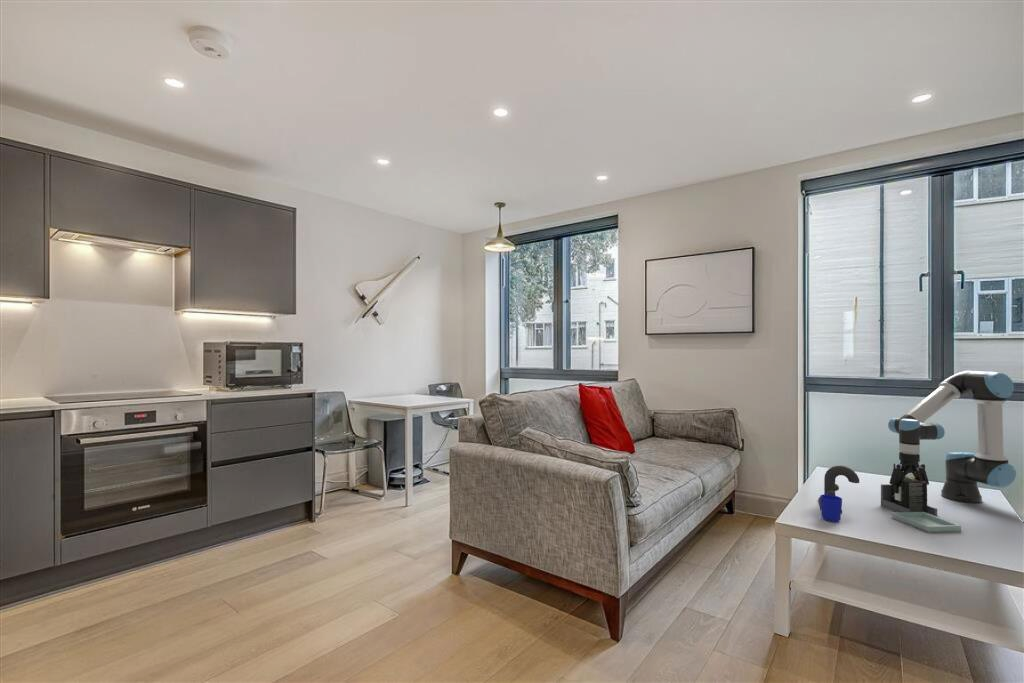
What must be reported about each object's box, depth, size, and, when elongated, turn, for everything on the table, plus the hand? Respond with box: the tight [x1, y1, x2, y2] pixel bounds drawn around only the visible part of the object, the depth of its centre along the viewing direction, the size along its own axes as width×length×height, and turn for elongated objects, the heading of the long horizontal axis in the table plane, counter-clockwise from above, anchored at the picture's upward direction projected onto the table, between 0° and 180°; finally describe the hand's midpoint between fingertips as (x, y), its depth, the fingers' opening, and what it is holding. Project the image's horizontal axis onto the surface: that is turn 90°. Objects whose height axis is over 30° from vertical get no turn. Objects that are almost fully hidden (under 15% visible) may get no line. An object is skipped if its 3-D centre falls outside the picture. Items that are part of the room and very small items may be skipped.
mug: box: [819, 494, 843, 523], centre depth 216 cm, size 8×12×10 cm
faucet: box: [818, 465, 860, 514], centre depth 230 cm, size 18×16×20 cm
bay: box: [880, 483, 938, 516], centre depth 227 cm, size 14×15×10 cm
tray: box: [891, 511, 962, 534], centre depth 209 cm, size 15×17×2 cm
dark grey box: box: [892, 476, 929, 514], centre depth 227 cm, size 11×9×15 cm
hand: (909, 499), depth 227 cm, fingers closed on dark grey box, 10 cm apart
